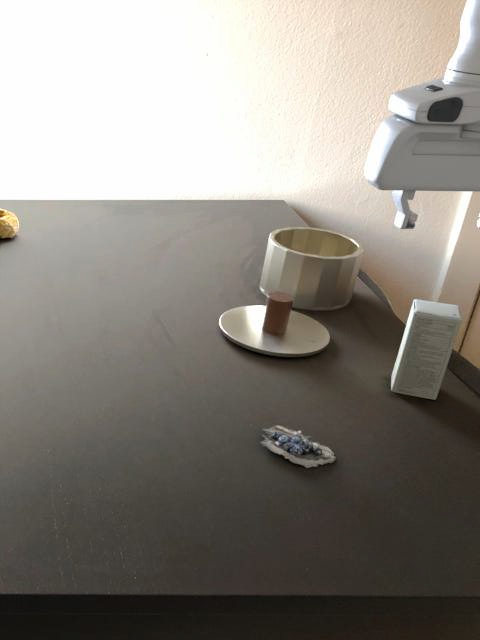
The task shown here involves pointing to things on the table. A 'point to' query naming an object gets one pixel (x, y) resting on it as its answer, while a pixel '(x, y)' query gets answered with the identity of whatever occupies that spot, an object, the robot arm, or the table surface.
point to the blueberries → (296, 446)
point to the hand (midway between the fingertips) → (444, 228)
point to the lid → (274, 328)
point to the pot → (312, 267)
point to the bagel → (8, 224)
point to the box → (425, 348)
